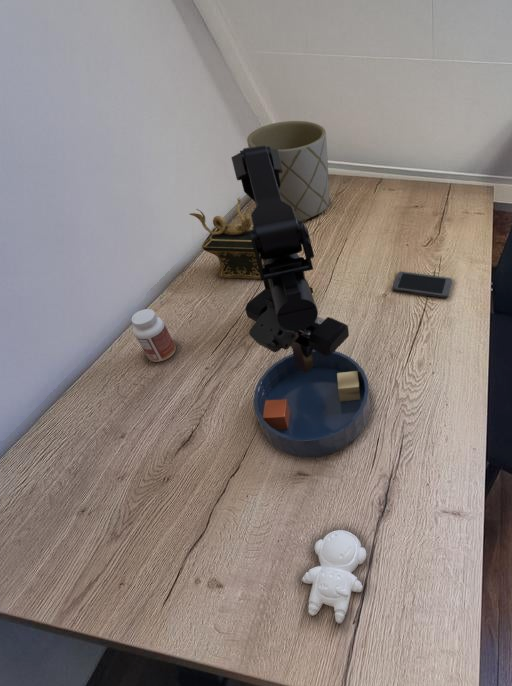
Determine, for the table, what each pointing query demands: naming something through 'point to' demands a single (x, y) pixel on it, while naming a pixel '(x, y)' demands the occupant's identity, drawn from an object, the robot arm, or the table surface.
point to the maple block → (348, 386)
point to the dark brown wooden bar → (301, 356)
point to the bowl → (313, 405)
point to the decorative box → (232, 246)
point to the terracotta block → (277, 414)
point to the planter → (299, 164)
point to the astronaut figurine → (335, 572)
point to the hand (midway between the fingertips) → (302, 353)
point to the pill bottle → (153, 335)
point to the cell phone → (422, 284)
